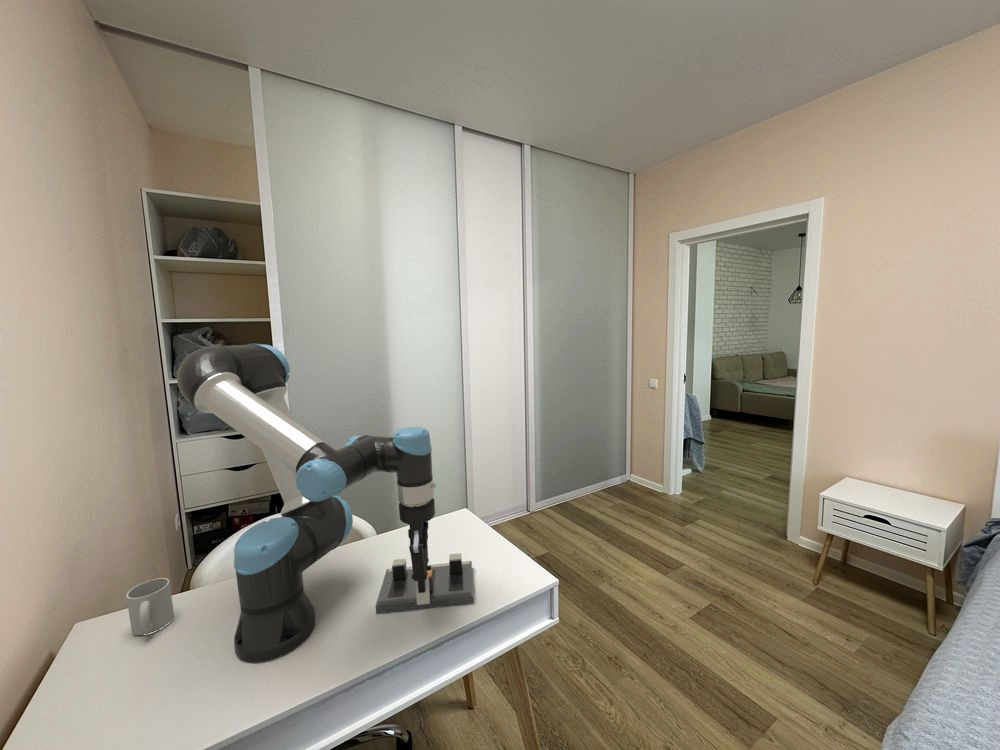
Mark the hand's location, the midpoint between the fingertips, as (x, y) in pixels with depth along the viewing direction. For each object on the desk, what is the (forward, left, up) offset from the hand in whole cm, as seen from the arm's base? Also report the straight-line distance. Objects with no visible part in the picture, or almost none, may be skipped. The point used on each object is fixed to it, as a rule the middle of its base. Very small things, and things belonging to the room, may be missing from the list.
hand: (423, 601), depth 88 cm
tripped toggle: (0, +7, -1) cm, 7 cm away
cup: (-60, +5, -4) cm, 60 cm away
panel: (0, +9, -3) cm, 10 cm away
